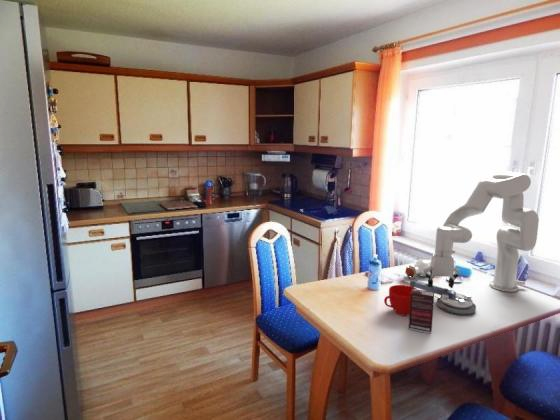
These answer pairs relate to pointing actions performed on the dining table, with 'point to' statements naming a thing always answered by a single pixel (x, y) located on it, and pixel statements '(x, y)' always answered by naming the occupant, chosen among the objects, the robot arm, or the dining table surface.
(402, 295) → the ceramic cup
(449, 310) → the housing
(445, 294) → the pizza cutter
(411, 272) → the potion bottle
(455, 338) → the dining table surface
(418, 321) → the supplement box
